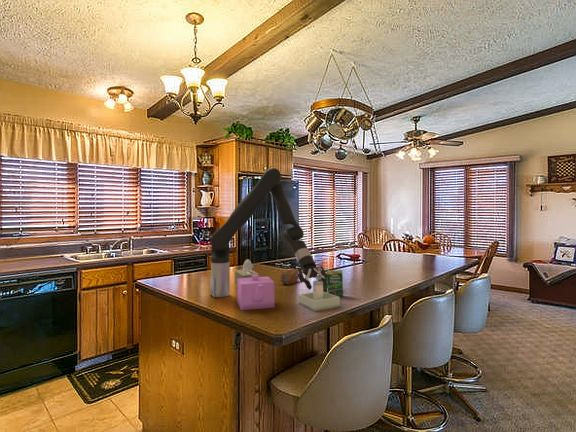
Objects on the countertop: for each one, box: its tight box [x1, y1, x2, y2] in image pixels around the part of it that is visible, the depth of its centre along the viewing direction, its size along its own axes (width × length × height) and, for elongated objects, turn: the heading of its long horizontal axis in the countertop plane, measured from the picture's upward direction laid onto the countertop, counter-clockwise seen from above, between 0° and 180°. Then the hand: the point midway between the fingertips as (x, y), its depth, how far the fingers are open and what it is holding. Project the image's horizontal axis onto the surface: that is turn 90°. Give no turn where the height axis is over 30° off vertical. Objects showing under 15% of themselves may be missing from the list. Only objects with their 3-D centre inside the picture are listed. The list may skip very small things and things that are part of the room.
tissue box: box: [234, 258, 260, 286], centre depth 202 cm, size 19×10×16 cm, turn 23°
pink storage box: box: [236, 274, 276, 311], centre depth 160 cm, size 15×25×14 cm, turn 16°
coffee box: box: [326, 269, 344, 298], centre depth 177 cm, size 8×3×13 cm, turn 90°
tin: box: [280, 268, 299, 285], centre depth 209 cm, size 15×3×8 cm, turn 143°
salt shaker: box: [312, 280, 323, 300], centre depth 160 cm, size 4×4×10 cm
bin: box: [297, 291, 341, 312], centre depth 160 cm, size 14×14×4 cm
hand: (318, 287), depth 159 cm, fingers open, 8 cm apart
